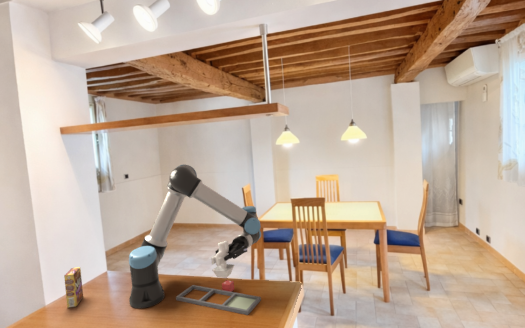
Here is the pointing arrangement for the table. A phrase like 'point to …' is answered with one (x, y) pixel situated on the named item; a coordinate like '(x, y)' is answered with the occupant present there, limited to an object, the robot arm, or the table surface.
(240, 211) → the robot arm
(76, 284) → the candy box
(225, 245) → the figurine
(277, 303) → the table surface
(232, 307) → the frame
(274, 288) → the table surface
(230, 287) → the red die
